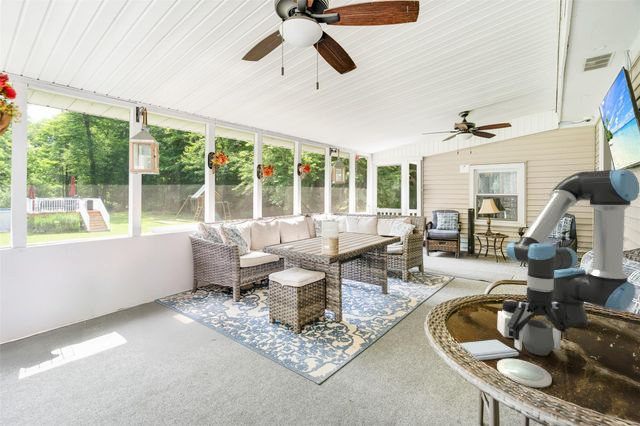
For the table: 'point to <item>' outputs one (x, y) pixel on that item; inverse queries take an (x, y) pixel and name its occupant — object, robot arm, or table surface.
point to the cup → (538, 337)
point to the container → (506, 318)
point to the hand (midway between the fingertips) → (537, 348)
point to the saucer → (524, 372)
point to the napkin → (488, 349)
